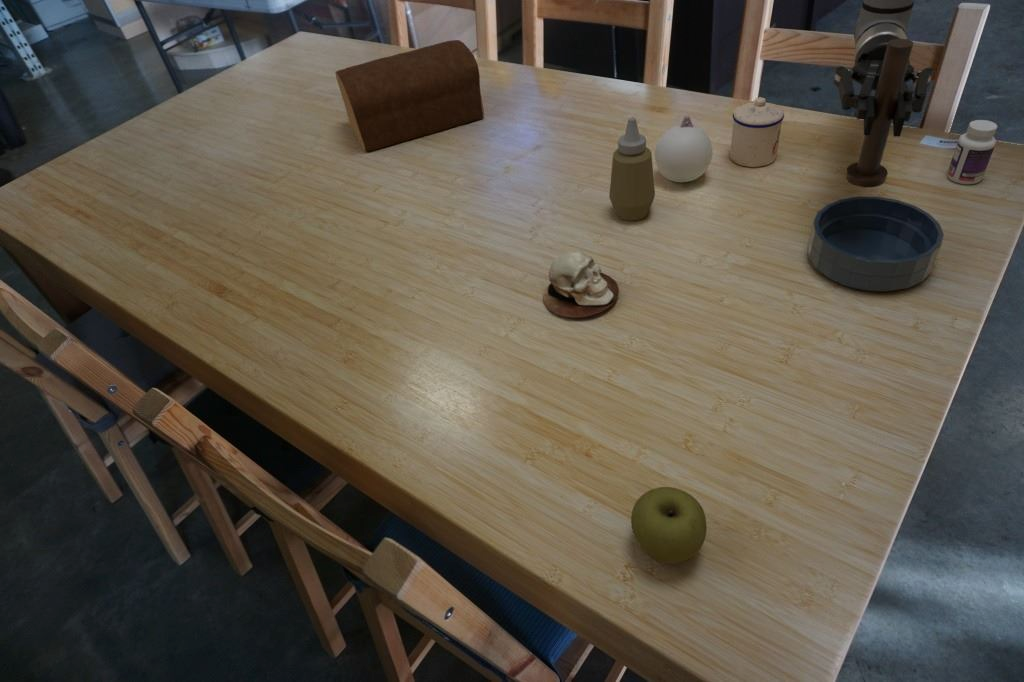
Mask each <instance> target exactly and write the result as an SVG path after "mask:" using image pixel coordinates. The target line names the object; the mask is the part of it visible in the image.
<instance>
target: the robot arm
mask: <svg viewBox="0 0 1024 682" xmlns="http://www.w3.org/2000/svg"><path fill="white" fill-rule="evenodd" d="M914 6H915V0H862V5H861V8H860V13H859V16H858V19H857V21H856V23H855V27H854V28H855V29H854V32H853V38H854V65H853V67H851V68H847V67H845V66H843V65H840V66H837V67H836V69H835V74H834V79H833V85H834V86H835V87H836V88H838V94H839V100H840V105H841V106H840V107H841V109H842V110H844V111H850V110H851V109H852V108H853V109H854V114H853V116H854V117H855V118H856V119H857V120H863V136H865V135H870V132H871V129H872V125H873V121H874V117H875V114H874V96H875V95H872V93H873V91H876V88H877V84H878V80H879V76H880V73H881V69H882V65H883V61H884V57H885V53H886V49H887V45H888V42H889V41H890V40H893V39H907V40H908V35H907V34H908V33H907V32H908V27H909V23H910V19H911V15H912V12H913V8H914ZM910 63H911V61H910V58H909V62H908V65H907V69H906V73H905V76H904V80H903V83H902V87H901V91H900V94H899V98H898V101H897V105H896V109H895V112H894V116H893V120H892V130H893V137H901V135H902V131H903V127H904V126H905V125H904V124H905V122H909V121H910V119H911V116H912V114H913V113H921V112H922V110H923V107H924V104H925V101H926V98H927V95H928V94H927V93H928V87H929V85H930V83H931V79H932V76H933V73H934V68H932V67H925V68H924V69H922V70H921V69H920V70H915V67H914V66H913V65H912V64H910ZM910 81H912V84H913V88H914V90H911V89H910V88H909V86H908V82H910ZM853 82H855V83H857V84H858V85H860V86H861V87H860V90H859V93H858V94H855V87H854V84H853Z"/></svg>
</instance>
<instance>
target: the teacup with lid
mask: <svg viewBox="0 0 1024 682" xmlns="http://www.w3.org/2000/svg"><path fill="white" fill-rule="evenodd" d="M784 118H785V113H784V110H783V109H782V107H780V106H778V105H777V104H774V103H772V102H767V100H766V98H765V97H761V96H759V97H756V98H755V99H754V101H752V102H747V103H743V104H741V105H739V106H738V107H736V108H735V110H734V112H733V113H732V120H733V123H732V133H731V141H730V151H729V157H730V160H732V162H734V163H735V164H737V165H739V166H743V167H747V168H759V167H764V166H767V165H770V164H771V163H773V162H774V161H775V160H776V159H777V157H778V155H777V154H778V151H779V150H778V149H779V144H780V136H781V130H782V124H783V120H784Z"/></svg>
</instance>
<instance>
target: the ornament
mask: <svg viewBox="0 0 1024 682" xmlns="http://www.w3.org/2000/svg"><path fill="white" fill-rule="evenodd" d="M712 158H713V145H712V141H711V139H710V137H709V135H708V133H707V132H705V130H704V129H702V128H700V127H699V126H697V125H693V122H692V120H691V117H690V115H684V117H683V118H682V121H681V123H680V124H677V125H674V126H672V127H670V128H668V129H667V130H665V131H664V132H663V133H662V134H661V135H660V137H659V138H658V140H657V142H656V145H655V148H654V161H655V164H656V165H655V166H656V167H657V169H658V171H659V172H660V174H661V176H663V177H665V179H667V180H670V181H672V182H676V183H688V182H692V181H694V180H696V179H698V178H699V177H702V175H703V174H704V173H705V172H706V171H707V170H708V168H709V167H710V164H711V162H712Z"/></svg>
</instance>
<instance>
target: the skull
mask: <svg viewBox="0 0 1024 682" xmlns="http://www.w3.org/2000/svg"><path fill="white" fill-rule="evenodd" d="M548 278H549V279H548V280H549V282H550V283H549V284H548V285H547V287H546V288H545V290H544V292H543V295H542V300H543V304H544V306H545V307H546V308H547V309H548V310H549V311H550V312H551V313H553V314H555V315H557V316H561V317H564V318H565V317H566V318H578V319H579V318H585V317H591V316H594V315H598V314H599V313H602V312H603V311H606V310H607V309H609V308H610V307H611V306H612V305H614V304H615V302H616V301H617V300H618V297H619V293H620V288H619V285H618V283H617V282H616V280H615V279H614V278H613V277H612V276H610V275H608V274H606V273H603V272H602V269H601V266H599V265H598V264H597V263H596V262H595V259H594V258H593V257H592V256H589V255H588V254H586V253H584V252H583V251H580V250H570V251H566V252H564V253H562V254H560V255H558V256H557V257H556V258H555V259H553V261H552V262H551V264H550V268H549V272H548Z"/></svg>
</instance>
